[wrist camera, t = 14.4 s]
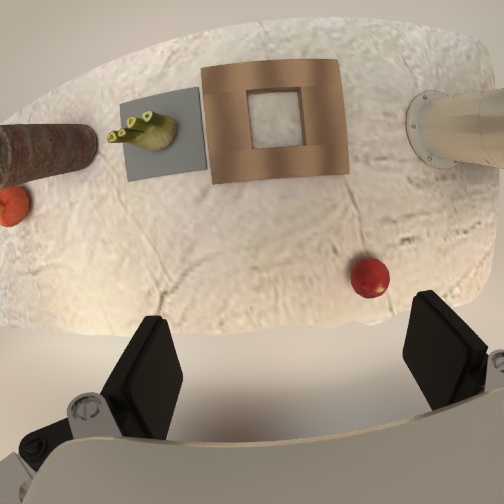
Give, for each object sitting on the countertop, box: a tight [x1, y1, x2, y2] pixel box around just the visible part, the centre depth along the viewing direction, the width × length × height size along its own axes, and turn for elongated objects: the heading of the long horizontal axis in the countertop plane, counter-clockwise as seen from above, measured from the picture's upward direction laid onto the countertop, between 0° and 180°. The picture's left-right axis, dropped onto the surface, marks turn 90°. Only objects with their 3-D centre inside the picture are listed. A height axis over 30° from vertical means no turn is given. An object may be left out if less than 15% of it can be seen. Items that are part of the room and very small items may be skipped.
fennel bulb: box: [107, 111, 177, 151], centre depth 32 cm, size 6×5×12 cm
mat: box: [120, 87, 207, 182], centre depth 37 cm, size 12×12×1 cm
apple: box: [0, 185, 29, 227], centre depth 37 cm, size 7×7×8 cm
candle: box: [0, 124, 96, 190], centre depth 29 cm, size 8×7×20 cm
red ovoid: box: [351, 258, 390, 298], centre depth 40 cm, size 6×6×8 cm
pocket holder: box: [201, 59, 349, 185], centre depth 36 cm, size 18×16×3 cm
